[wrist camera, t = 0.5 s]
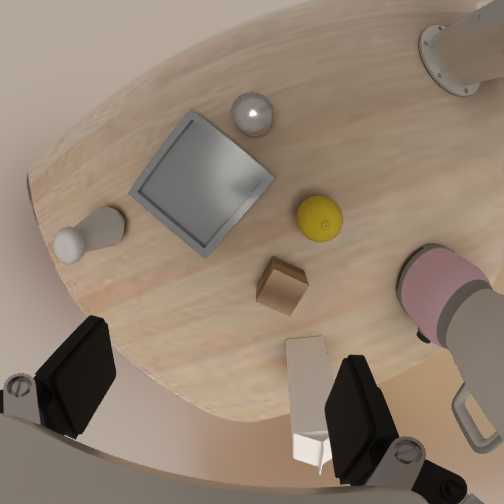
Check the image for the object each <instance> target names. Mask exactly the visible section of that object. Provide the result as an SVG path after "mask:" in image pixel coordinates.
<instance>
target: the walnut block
mask: <svg viewBox="0 0 504 504" xmlns="http://www.w3.org/2000/svg"><path fill="white" fill-rule="evenodd" d="M308 286H309V284H308V281H307V278H306V275H305V272H304V271H303V270H301V269H299V268H297V267H295V266H293V265H291V264H288V263H286V262H284V261H282V260H280V259H278V258H276V257H274V256H273V257H272V259H271V261H270V262H269V264H268V266H267V268H266V270H265V272H264V273H263V275H262V277H261V279H260V281H259V283H258V285H257V292H256V302H259V303H261V304H263V305H265V306H268V307H270V308H272V309H274V310H277V311H279V312H281V313H284V314H286V315H288V316H290V315H291V314H292V312H293V310H294V309H295V307H296V306H297V304H298V302H299V301H300V299H301V298H302V296H303V294H304V293H305V291H306V289H307V288H308Z"/></svg>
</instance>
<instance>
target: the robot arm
mask: <svg viewBox="0 0 504 504" xmlns="http://www.w3.org/2000/svg"><path fill="white" fill-rule="evenodd" d="M419 49H420V54H421V57H422V60H423V63H424V65H425V67H426V69H427V70H428V72H429V73H430V75H431V76H432V77H433V79H434V80H435V81H436V82H437V83H438V84H439V85H440V86H441V87H442V88H444V89H445V90H446V91H448V92H450V93H452V94H454V95H457V96H469V95H472V94H474V93H475V92H476V91H477V90H478V88H479V86H480V83H481V82H484V81H488V80H493V79H497V78H501V77H504V0H494V1H492V2H490V3H489V4H487V5H485V6H483V7H481V8H480V9H478V10H476V11H474V12H472V13H471V14H469V15H467V16H465V17H464V18H462V19H460V20H458V21H457V22H455V23H453V24H452V25H450V26H448V27H446V26H442V25H433V26H430V27H428V28H426V29H425V30H424V31H423V32H422V34H421V36H420V40H419ZM35 374H36V376H35V377H34V378H32V377H31V376H30V375H28V374H24V373H18V374H14V375H12V376H10V377H9V378H8V379H7V380H6V382H5V384H4V388H3V390H0V504H484V503H483V502H482V501H480V500H479V499H478V498H477V497H476V496H475V495H473V494H472V493H471V494H470V495H468V494H467V485H466V482H465V480H464V479H463V478H462V477H460V476H459V475H457V474H455V473H453V472H451V471H449V470H446V469H444V468H442V467H440V466H438V465H436V464H434V463H432V462H430V461H428V460H426V459H425V457H426V451H425V448H424V446H423V445H422V443H420V441H418V440H416V439H415V438H412V437H405V436H404V437H399V435H398V432H397V430H396V427H395V424H394V421H393V419H392V416H391V414H390V411H389V408H388V406H387V403H386V401H385V399H384V396H383V394H382V391H381V389H380V388H379V387H377V385H376V383H375V380H374V378H373V375H372V373H371V371H370V368H369V366H368V363H367V361H366V359H365V357H364V356H363V355H349V356H348V358H344V359H343V361H342V364H341V366H340V369H339V371H338V374H337V377H336V379H335V382H334V384H333V387H332V389H331V391H330V394H329V396H328V399H327V401H326V403H325V408H324V412H325V418H326V423H327V429H328V435H329V441H330V447H331V453H332V459H333V466H334V472H335V477H336V478H339V479H340V484H341V485H342V484H351V486H344V487H323V488H321V487H320V488H286V487H284V488H282V487H263V486H249V485H240V484H231V483H223V482H217V481H210V480H204V479H198V478H193V477H188V476H183V475H178V474H174V473H170V472H166V471H162V470H158V469H154V468H150V467H147V466H143V465H140V464H137V463H133V462H130V461H127V460H124V459H121V458H118V457H115V456H112V455H110V454H107V453H104V452H101V451H99V450H96V449H94V448H91V447H89V446H86V445H84V444H82V443H79V442H77V441H74V440H72V439H70V438H68V437H65V436H64V435H67V436H69V437H71V438H73V439H76V438H77V436H78V434H82V433H83V432H84V430H85V428H86V427H87V425H88V423H89V422H90V420H91V418H92V416H93V414H94V413H95V411H96V409H97V408H98V406H99V405H100V403H101V401H102V399H103V398H104V396H105V395H106V393H107V391H108V389H109V388H110V386H111V385H112V383H113V381H114V379H115V377H116V368H115V364H114V358H113V353H112V347H111V341H110V335H109V329H108V324H107V323H106V322H105V320H104V319H103V318H100V317H96V316H93V315H90V316H89V317H88V318H87V319H86V320H85V321H84V322H83V323H82V324H81V325H80V326H79V327H78V328H77V329H76V330H75V331H74V332H73V333H72V334H71V335H70V336H69V337H68V338H67V339H66V340H65V341H64V342H63V343H62V345H61V346H60V347H59V348H58V349H57V350H56V351H55V352H54V353H53V354H52V355H51V357H49V359H48V360H47V361H46V362H45V363H44V364H43V365H42V366H41V367H40V369H39V370H38V371H37V372H36V373H35Z"/></svg>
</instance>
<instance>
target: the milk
mask: <svg viewBox="0 0 504 504" xmlns="http://www.w3.org/2000/svg"><path fill="white" fill-rule="evenodd" d="M286 358H287V374H288V387H289V400H290V414H291V429H292V444H293V458H294V459H297V460H300V461H303V462H306V463H309V464H312V465H315V466H318V468H319V475H321V470H322V464H324V463H325V462H327V461H328V460H330V459H332V453H331V447H330V441H329V435H328V429H327V423H326V418H325V412H324V408H325V403H326V401H327V399H328V396H329V394H330V391H331V389H332V387H333V384H334V382H335V379H334V375H333V372H332V368H331V364H330V361H329V357H328V354H327V350H326V347H325V343H324V340H323V336H318V337H308V338H297V339H286Z"/></svg>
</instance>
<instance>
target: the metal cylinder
mask: <svg viewBox="0 0 504 504" xmlns="http://www.w3.org/2000/svg"><path fill="white" fill-rule="evenodd" d="M231 113H232V118H233V120H234V122H235V123H236V125H237V126H238V127H239V128H240V129H241V131H242V132H243V133H245V134H246V135H249V136H253V137H256V136H261V135H263V134H265V133H266V132H267V131H268V130H269V128H270V126H271V123H272V117H273V107H272V104H271V102H270V101H269V100H268V99H267V98H266V97H265V96H264V95H262V94H259V93H254V92H251V93H246V94H243V95H241V96H240V97H238V98H237V99H236V101H235V102H234V104H233V106H232V111H231Z"/></svg>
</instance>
